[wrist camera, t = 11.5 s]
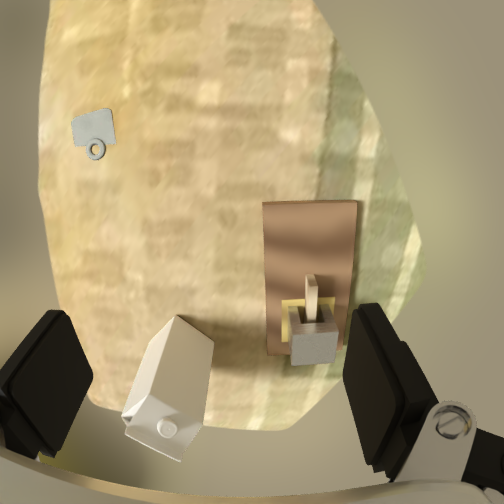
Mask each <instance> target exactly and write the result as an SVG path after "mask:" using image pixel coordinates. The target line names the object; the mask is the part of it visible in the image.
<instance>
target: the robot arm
mask: <svg viewBox="0 0 504 504" xmlns="http://www.w3.org/2000/svg"><path fill="white" fill-rule="evenodd" d="M92 381H93V372H92V369H91V367H90V365H89V363H88V360H87V358H86V356H85V354H84V351H83V349H82V347H81V344H80V342H79V339H78V337H77V335H76V332H75V330H74V327H73V324H72V322H71V319H70V317H69V316H68V315H66V313H65V312H64V311H63V310H48V311H47V312H46V313H45V315H43V317H42V318H41V319H40V320H39V322H38V323H37V324H36V325H35V326H34V327H33V329H32V330H31V331H30V332H29V334H28V335H27V336H26V337H25V338H24V340H23V341H22V342H21V344H20V345H19V346H18V347H17V349H16V350H15V351H14V353H13V354H12V355H11V356H10V358H9V359H8V360H7V362H6V363H5V364H4V366H3V367H2V369H1V370H0V504H504V438H503V437H500V436H497V435H494V434H492V433H489V432H486V431H483V430H481V429H478V428H477V421H476V418H475V415H474V414H473V412H472V411H471V409H469V408H468V407H467V406H466V405H464V404H462V403H460V402H455V401H444V402H441V403H439V402H438V400H437V398H436V396H435V394H434V392H433V390H432V388H431V386H430V384H429V382H428V381H427V379H426V377H425V375H424V373H423V371H422V369H421V368H420V366H419V364H418V362H417V360H416V359H415V357H414V355H413V353H412V352H411V350H410V348H409V346H408V345H407V343H406V342H404V341H400V339H399V338H398V336H397V334H396V332H395V331H394V329H393V327H392V325H391V324H390V322H389V320H388V318H387V317H386V315H385V313H384V312H383V310H382V308H381V306H380V305H379V304H378V303H368V304H360V305H359V307H358V309H354V310H353V314H352V320H351V327H350V333H349V340H348V346H347V352H346V357H345V363H344V368H343V382H344V385H345V389H346V392H347V396H348V399H349V402H350V406H351V410H352V413H353V416H354V421H355V424H356V428H357V431H358V435H359V439H360V443H361V446H362V450H363V454H364V458H365V462H366V464H367V465H372V467H373V470H374V473H376V472H381V471H385V474H386V477H387V478H389V481H388V482H387V483H385V484H379V485H373V486H366V487H360V488H353V489H346V490H340V491H333V492H324V493H315V494H304V495H290V496H274V497H217V496H201V495H189V494H178V493H170V492H162V491H154V490H148V489H142V488H136V487H130V486H125V485H120V484H116V483H111V482H106V481H102V480H98V479H94V478H90V477H86V476H82V475H79V474H76V473H72V472H69V471H65V470H62V469H59V468H55V467H53V466H50V465H47V464H44V463H41V462H40V461H39V457H38V452H39V451H40V452H41V453H42V454H43V455H46V456H50V457H53V458H55V455H56V453H57V451H59V450H61V448H62V445H63V443H64V441H65V439H66V436H67V434H68V432H69V430H70V427H71V425H72V423H73V421H74V419H75V416H76V414H77V412H78V410H79V408H80V406H81V404H82V401H83V399H84V397H85V395H86V393H87V391H88V389H89V387H90V385H91V383H92Z"/></svg>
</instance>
